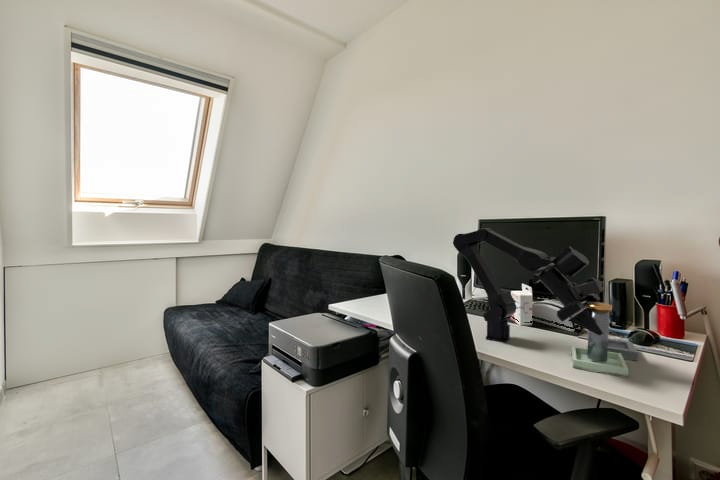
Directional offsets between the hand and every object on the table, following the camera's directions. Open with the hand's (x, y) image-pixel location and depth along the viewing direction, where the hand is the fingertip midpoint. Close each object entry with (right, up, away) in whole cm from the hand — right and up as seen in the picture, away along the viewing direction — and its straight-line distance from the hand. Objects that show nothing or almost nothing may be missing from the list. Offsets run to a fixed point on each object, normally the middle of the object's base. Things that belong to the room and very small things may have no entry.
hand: (604, 332), depth 89 cm
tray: (-1, -9, +1) cm, 9 cm away
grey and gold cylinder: (-1, -8, +1) cm, 8 cm away
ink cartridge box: (-3, -8, +41) cm, 42 cm away
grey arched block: (+8, -8, +37) cm, 39 cm away
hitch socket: (+10, -9, +10) cm, 17 cm away
